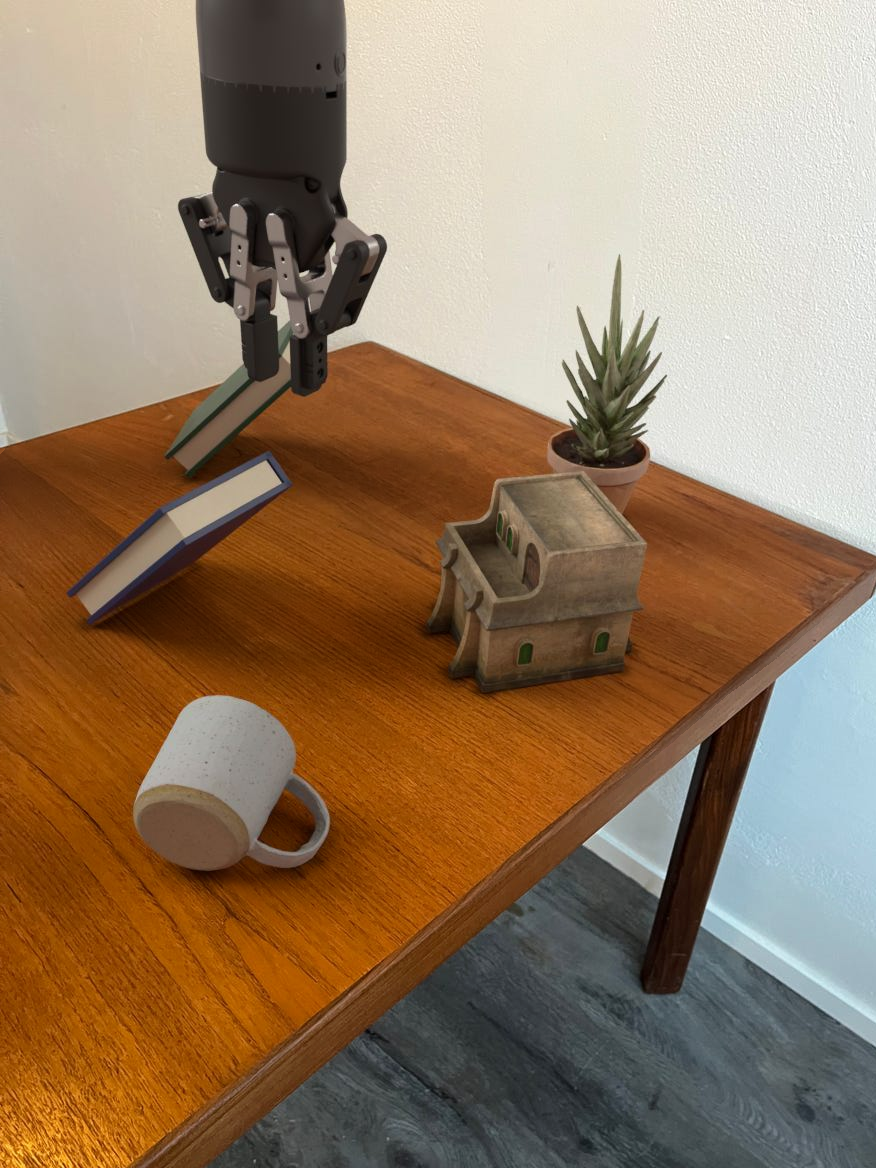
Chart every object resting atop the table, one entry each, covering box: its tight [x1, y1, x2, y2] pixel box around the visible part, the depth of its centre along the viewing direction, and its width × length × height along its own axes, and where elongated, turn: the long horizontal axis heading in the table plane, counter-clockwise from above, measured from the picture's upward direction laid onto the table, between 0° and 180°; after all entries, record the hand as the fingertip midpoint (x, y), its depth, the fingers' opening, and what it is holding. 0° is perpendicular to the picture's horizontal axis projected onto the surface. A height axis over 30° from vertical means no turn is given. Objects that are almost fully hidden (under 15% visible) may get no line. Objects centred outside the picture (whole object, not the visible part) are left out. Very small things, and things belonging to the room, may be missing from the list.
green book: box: [163, 320, 294, 479], centre depth 98 cm, size 16×11×3 cm
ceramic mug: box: [132, 694, 331, 872], centre depth 60 cm, size 11×8×8 cm
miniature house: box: [426, 471, 648, 694], centre depth 78 cm, size 15×14×11 cm
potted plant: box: [546, 253, 668, 515], centre depth 90 cm, size 10×10×25 cm
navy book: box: [65, 450, 294, 626], centre depth 76 cm, size 16×11×3 cm
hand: (285, 383), depth 62 cm, fingers open, 3 cm apart
